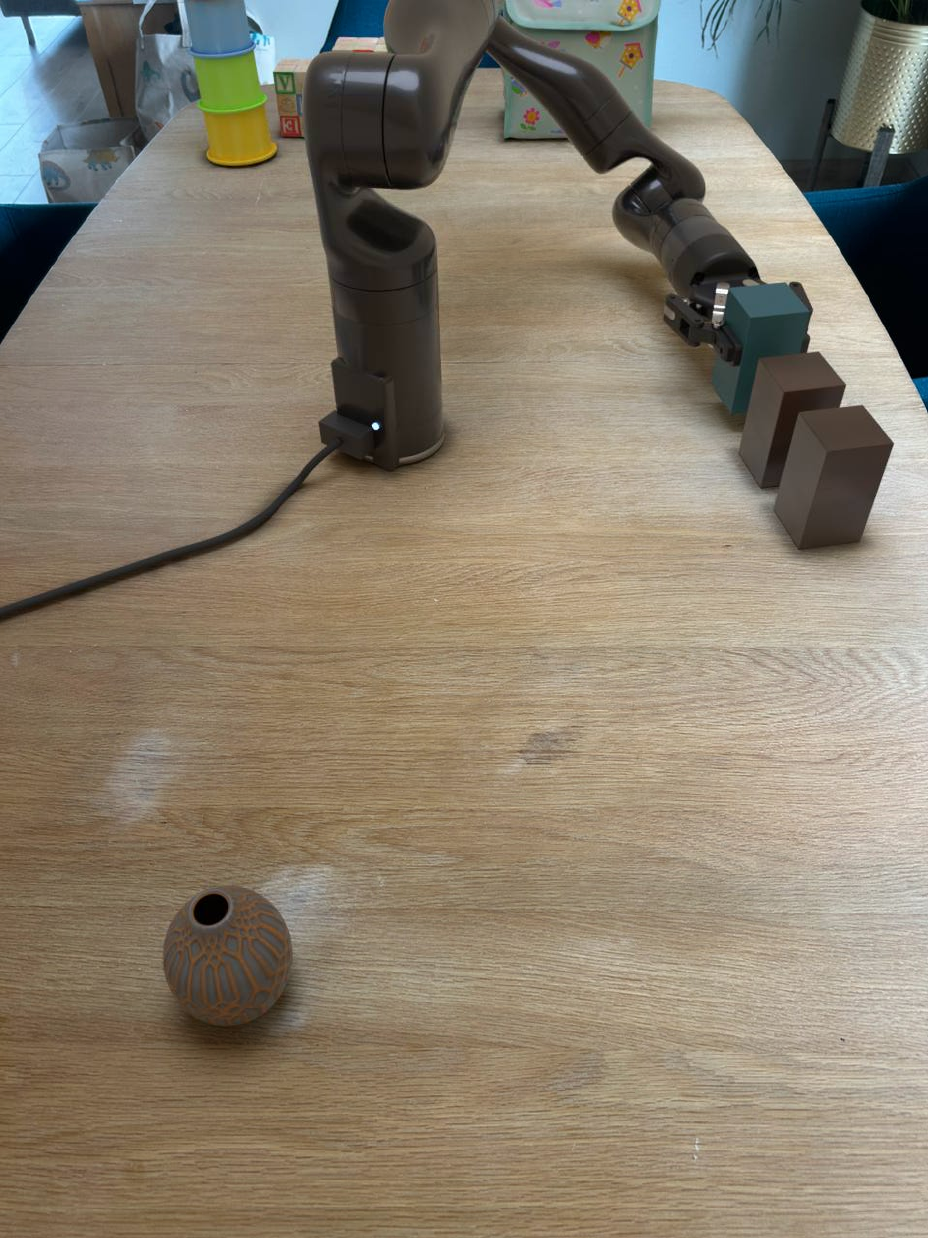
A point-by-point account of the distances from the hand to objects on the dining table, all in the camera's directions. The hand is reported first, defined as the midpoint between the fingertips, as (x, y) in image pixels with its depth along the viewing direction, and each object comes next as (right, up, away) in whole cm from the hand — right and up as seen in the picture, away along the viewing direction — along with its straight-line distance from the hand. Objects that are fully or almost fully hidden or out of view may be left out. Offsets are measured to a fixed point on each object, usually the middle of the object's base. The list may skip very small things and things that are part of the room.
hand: (770, 353), depth 90 cm
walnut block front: (+3, -16, -4) cm, 17 cm away
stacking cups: (-60, +44, +57) cm, 94 cm away
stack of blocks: (-45, +50, +63) cm, 92 cm away
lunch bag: (-11, +51, +63) cm, 82 cm away
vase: (-41, -45, -32) cm, 69 cm away
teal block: (0, -2, +6) cm, 7 cm away
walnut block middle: (+1, -10, +1) cm, 10 cm away
